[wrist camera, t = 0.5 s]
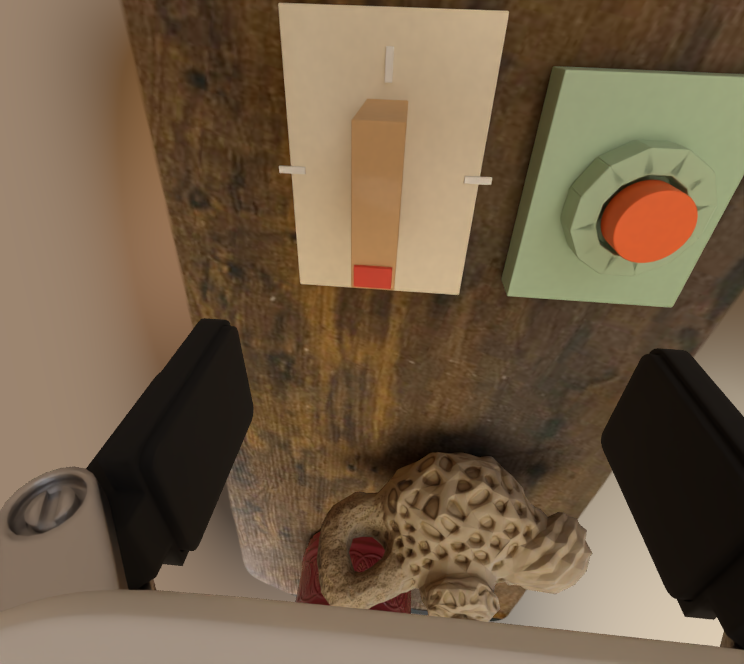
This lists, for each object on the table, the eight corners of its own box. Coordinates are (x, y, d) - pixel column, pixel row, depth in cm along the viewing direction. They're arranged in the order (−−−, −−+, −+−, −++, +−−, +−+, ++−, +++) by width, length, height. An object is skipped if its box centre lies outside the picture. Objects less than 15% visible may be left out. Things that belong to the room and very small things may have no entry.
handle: (366, 98, 20) (350, 120, 15) (408, 100, 20) (406, 123, 15) (364, 236, 24) (350, 290, 19) (398, 238, 24) (394, 293, 19)
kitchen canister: (415, 526, 46) (415, 747, 32) (410, 580, 54) (409, 778, 39) (300, 517, 47) (250, 728, 33) (311, 572, 55) (275, 762, 40)
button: (615, 176, 20) (630, 187, 19) (692, 181, 20) (714, 192, 18) (590, 246, 22) (602, 261, 21) (659, 251, 22) (676, 265, 21)
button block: (552, 66, 21) (578, 72, 17) (762, 75, 20) (828, 82, 17) (501, 279, 28) (512, 311, 24) (655, 289, 27) (688, 324, 24)
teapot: (577, 426, 35) (662, 636, 23) (550, 505, 42) (605, 699, 30) (327, 419, 37) (284, 607, 25) (340, 495, 44) (311, 672, 32)
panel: (279, 5, 20) (262, 2, 18) (512, 13, 20) (524, 11, 17) (299, 265, 28) (290, 284, 26) (464, 276, 28) (468, 297, 26)
